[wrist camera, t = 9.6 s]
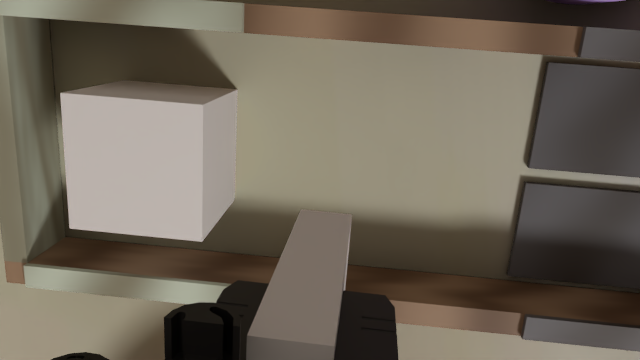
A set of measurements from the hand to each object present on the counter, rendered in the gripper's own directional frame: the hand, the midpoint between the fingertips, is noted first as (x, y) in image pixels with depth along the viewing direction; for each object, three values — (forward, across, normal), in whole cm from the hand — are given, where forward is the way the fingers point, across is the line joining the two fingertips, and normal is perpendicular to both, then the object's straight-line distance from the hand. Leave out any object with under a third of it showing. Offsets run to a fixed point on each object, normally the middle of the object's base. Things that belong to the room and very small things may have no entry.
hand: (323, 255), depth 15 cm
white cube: (+12, -9, 0) cm, 15 cm away
